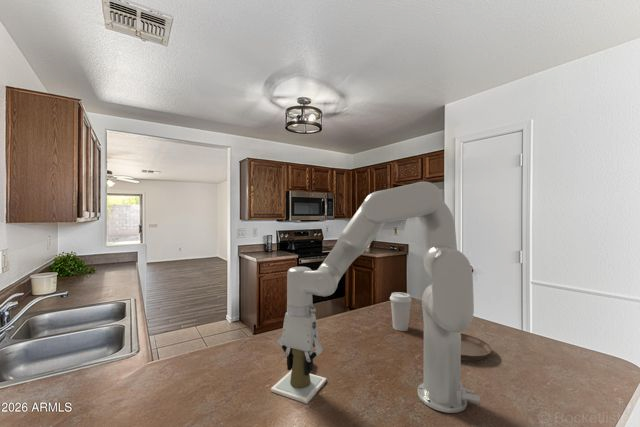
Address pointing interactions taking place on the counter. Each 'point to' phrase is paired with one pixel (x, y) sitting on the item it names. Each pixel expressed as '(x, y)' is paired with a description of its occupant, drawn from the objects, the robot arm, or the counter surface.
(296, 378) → the olive rounded tall piece
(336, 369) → the counter surface
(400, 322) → the coffee cup
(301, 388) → the plate
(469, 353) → the plant saucer
